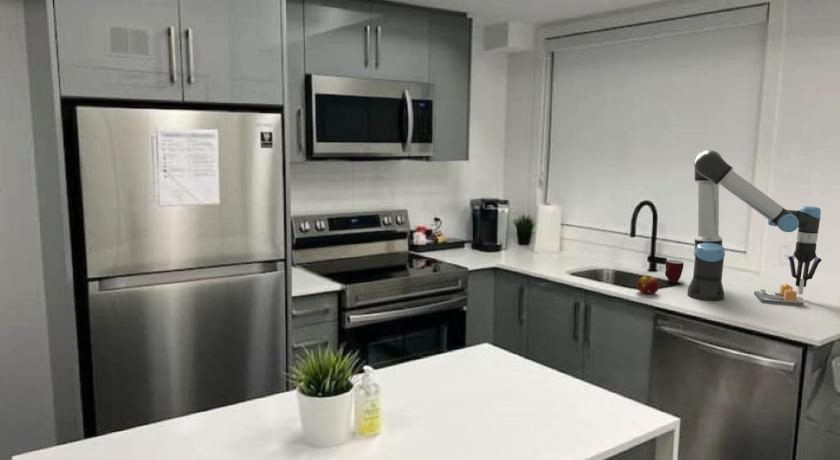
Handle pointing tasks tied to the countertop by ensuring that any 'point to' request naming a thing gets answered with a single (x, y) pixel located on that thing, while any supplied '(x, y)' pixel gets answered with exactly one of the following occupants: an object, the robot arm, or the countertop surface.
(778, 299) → the switch board
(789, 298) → the tab front
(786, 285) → the tab back
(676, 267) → the mug
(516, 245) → the countertop surface
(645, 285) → the fruit
